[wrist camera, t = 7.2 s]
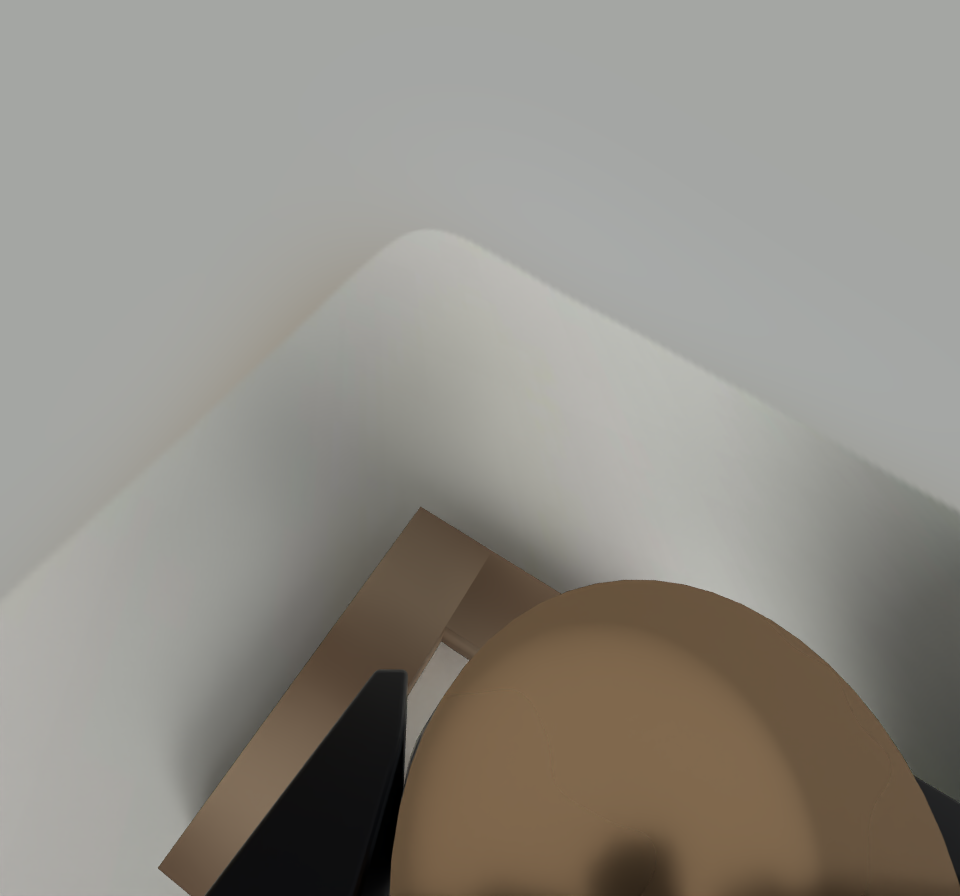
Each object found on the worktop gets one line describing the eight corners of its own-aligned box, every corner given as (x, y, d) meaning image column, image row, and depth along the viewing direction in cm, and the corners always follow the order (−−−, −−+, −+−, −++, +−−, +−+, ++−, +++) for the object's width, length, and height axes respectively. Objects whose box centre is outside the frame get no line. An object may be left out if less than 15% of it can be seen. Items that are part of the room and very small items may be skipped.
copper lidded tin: (471, 943, 11) (692, 1685, 2) (372, 758, 12) (278, 788, 4) (614, 807, 12) (1088, 952, 4) (511, 654, 14) (682, 499, 5)
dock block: (539, 1124, 15) (566, 1207, 12) (197, 848, 17) (157, 868, 14) (689, 704, 20) (731, 698, 18) (419, 534, 22) (420, 506, 20)
